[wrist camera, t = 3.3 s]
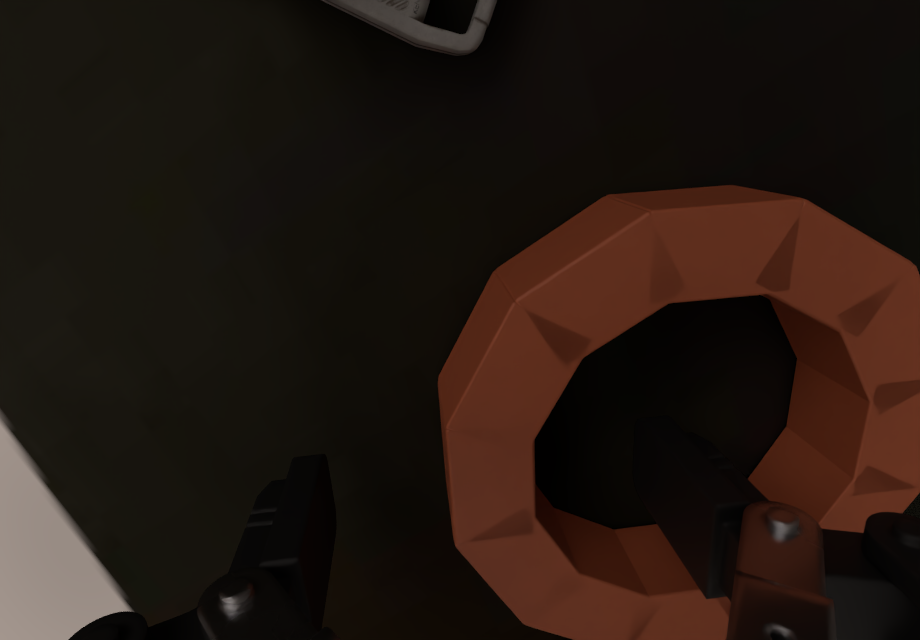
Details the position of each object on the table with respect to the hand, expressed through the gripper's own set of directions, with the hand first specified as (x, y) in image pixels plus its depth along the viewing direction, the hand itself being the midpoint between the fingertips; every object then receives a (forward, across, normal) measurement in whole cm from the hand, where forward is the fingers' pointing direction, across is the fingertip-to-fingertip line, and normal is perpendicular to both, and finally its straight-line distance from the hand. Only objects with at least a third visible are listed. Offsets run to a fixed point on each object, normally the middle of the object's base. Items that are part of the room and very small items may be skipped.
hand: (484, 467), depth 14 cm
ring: (+1, -5, 0) cm, 5 cm away
